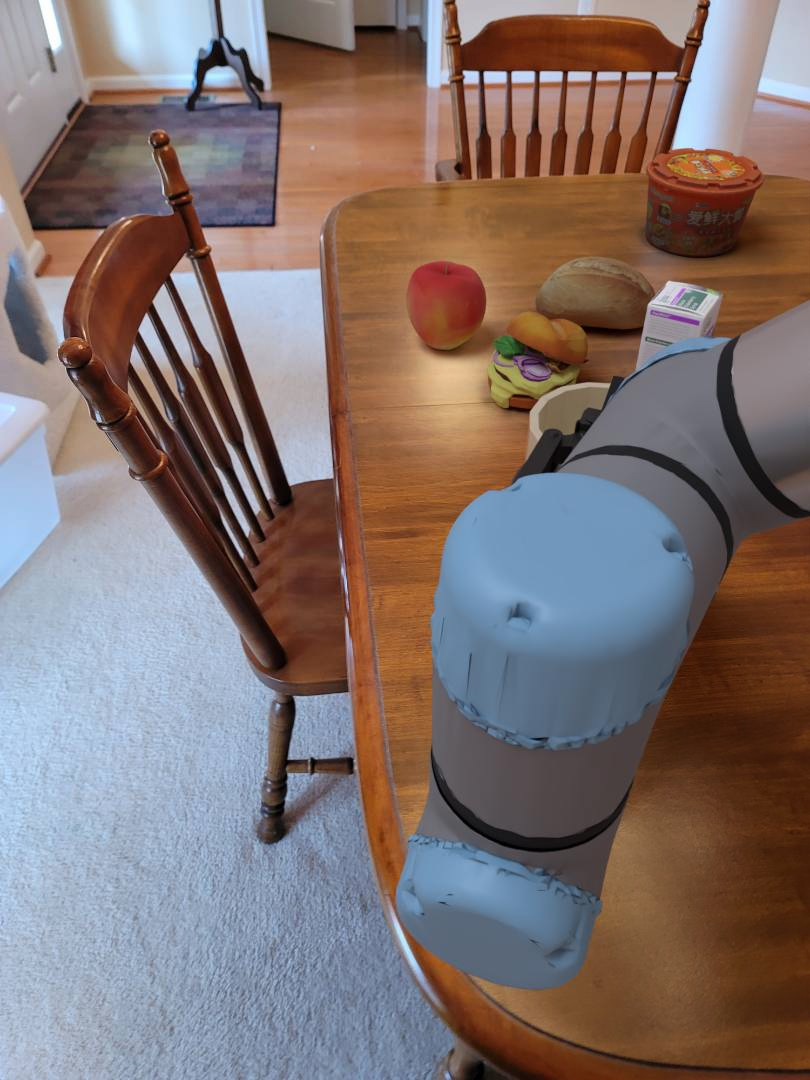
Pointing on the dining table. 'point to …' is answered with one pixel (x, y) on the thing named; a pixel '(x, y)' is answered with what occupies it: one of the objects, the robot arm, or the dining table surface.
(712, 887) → the dining table surface
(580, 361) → the cheeseburger
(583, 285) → the bread roll
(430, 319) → the apple
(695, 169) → the food container
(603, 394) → the pot
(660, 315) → the syrup box
